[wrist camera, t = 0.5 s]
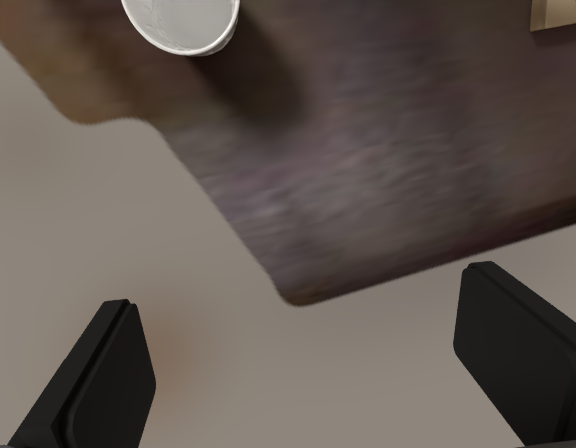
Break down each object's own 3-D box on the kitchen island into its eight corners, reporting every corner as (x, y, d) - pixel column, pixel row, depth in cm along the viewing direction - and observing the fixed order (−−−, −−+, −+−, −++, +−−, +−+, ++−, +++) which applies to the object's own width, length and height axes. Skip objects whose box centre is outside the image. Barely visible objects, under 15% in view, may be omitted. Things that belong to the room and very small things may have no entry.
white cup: (205, 80, 35) (190, 80, 26) (136, 16, 33) (92, -11, 24) (260, 14, 34) (264, -12, 25) (191, -59, 31) (167, -118, 22)
